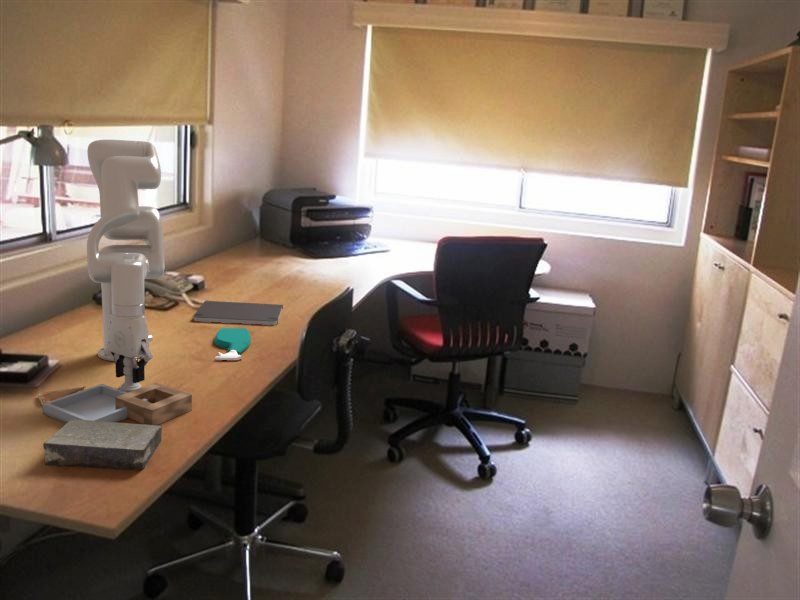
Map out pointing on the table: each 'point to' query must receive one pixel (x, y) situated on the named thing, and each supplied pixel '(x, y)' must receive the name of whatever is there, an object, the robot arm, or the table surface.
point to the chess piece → (129, 377)
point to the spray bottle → (232, 342)
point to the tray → (88, 405)
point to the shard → (57, 394)
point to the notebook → (238, 313)
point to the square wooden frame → (155, 403)
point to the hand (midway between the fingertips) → (130, 378)
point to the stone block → (102, 445)
